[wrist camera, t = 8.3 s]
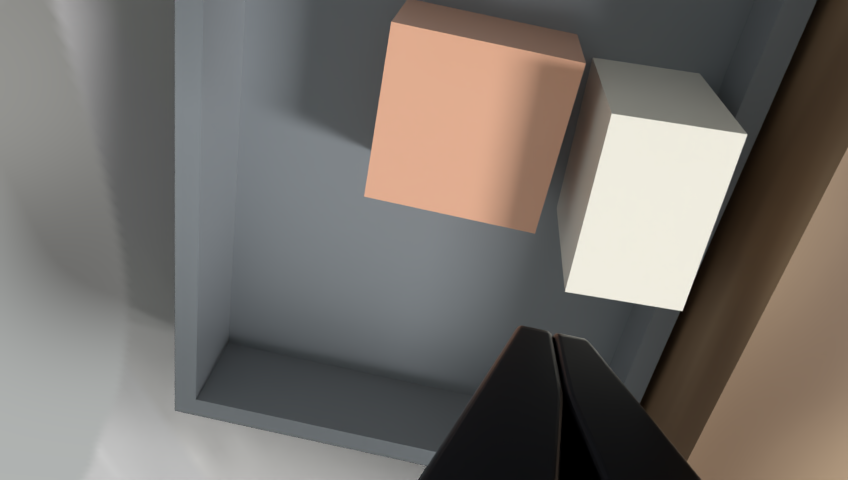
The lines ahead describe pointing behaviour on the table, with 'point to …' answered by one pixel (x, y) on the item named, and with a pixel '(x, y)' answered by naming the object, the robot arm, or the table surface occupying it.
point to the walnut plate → (773, 292)
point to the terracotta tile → (472, 114)
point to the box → (392, 217)
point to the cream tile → (644, 183)
